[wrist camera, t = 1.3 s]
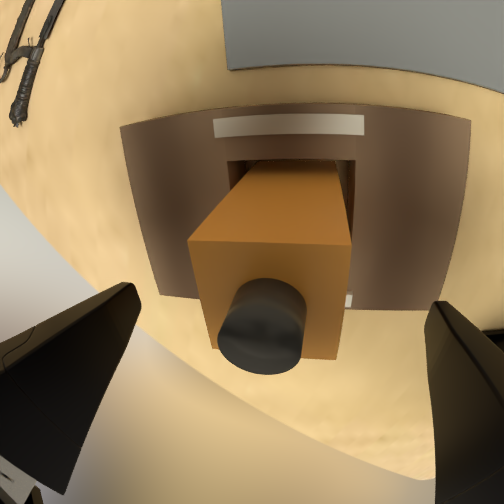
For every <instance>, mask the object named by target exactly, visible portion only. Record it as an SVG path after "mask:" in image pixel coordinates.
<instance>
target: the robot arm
mask: <svg viewBox="0 0 504 504" xmlns="http://www.w3.org/2000/svg"><path fill="white" fill-rule="evenodd" d="M140 311H141V301H140V298H139V295H138V293H137V290H136V287H135V285H134V284H133V283H128V282H121V283H119V284H117V285H115V286H113V287H111V288H109V289H107V290H105V291H103V292H101V293H99V294H96V295H94V296H92V297H90V298H88V299H87V300H85V301H83V302H80V303H78V304H76V305H75V306H73V307H71V308H69V309H67V310H65V311H63V312H61V313H59V314H57V315H55V316H53V317H51V318H49V319H47V320H46V321H43V322H41V323H39V324H37V325H36V326H34V327H32V328H30V329H28V330H26V331H24V332H22V333H20V334H18V335H16V336H14V337H12V338H10V339H8V340H6V341H3V342H1V343H0V504H43V500H42V496H41V492H40V489H39V488H38V487H37V486H35V483H36V481H39V482H40V483H42V484H43V485H45V486H47V487H49V488H50V489H52V490H54V491H56V492H58V493H59V494H61V495H64V493H65V492H66V489H67V486H68V483H69V481H70V478H71V475H72V472H73V470H74V467H75V464H76V462H77V459H78V456H79V454H80V451H81V447H82V446H83V443H84V441H85V438H86V436H87V433H88V431H89V429H90V426H91V424H92V421H93V419H94V417H95V414H96V412H97V410H98V408H99V405H100V403H101V401H102V398H103V396H104V394H105V392H106V390H107V388H108V385H109V383H110V381H111V379H112V377H113V374H114V372H115V370H116V368H117V366H118V364H119V362H120V360H121V358H122V356H123V354H124V351H125V349H126V347H127V345H128V342H129V340H130V337H131V334H132V332H133V329H134V326H135V324H136V321H137V319H138V316H139V314H140ZM424 333H425V344H426V358H427V374H428V383H429V391H430V398H431V406H432V416H433V427H434V441H435V465H436V488H435V489H436V490H435V504H504V330H498V331H486V332H481V331H480V330H479V329H478V328H477V327H476V326H475V325H473V324H472V323H471V322H470V321H469V320H468V319H467V318H466V317H464V316H463V315H462V314H461V313H460V312H459V311H458V310H456V309H455V308H454V307H453V306H452V305H451V304H449V303H448V302H447V301H434V302H433V303H432V305H431V308H430V311H429V313H428V316H427V319H426V322H425V326H424Z"/></svg>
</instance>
